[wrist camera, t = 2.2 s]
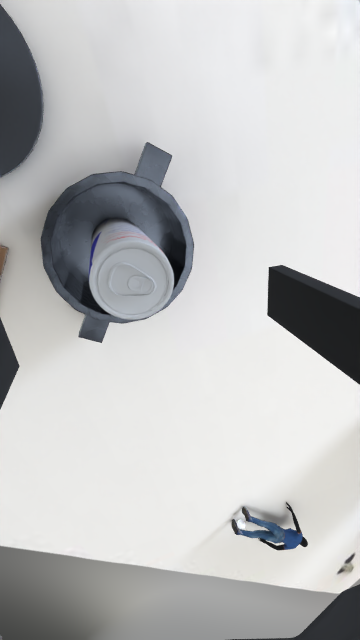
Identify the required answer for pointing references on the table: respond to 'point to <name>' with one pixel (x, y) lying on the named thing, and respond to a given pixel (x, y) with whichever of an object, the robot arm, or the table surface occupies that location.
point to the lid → (17, 97)
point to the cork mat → (2, 259)
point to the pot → (104, 203)
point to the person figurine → (271, 532)
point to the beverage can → (128, 271)
